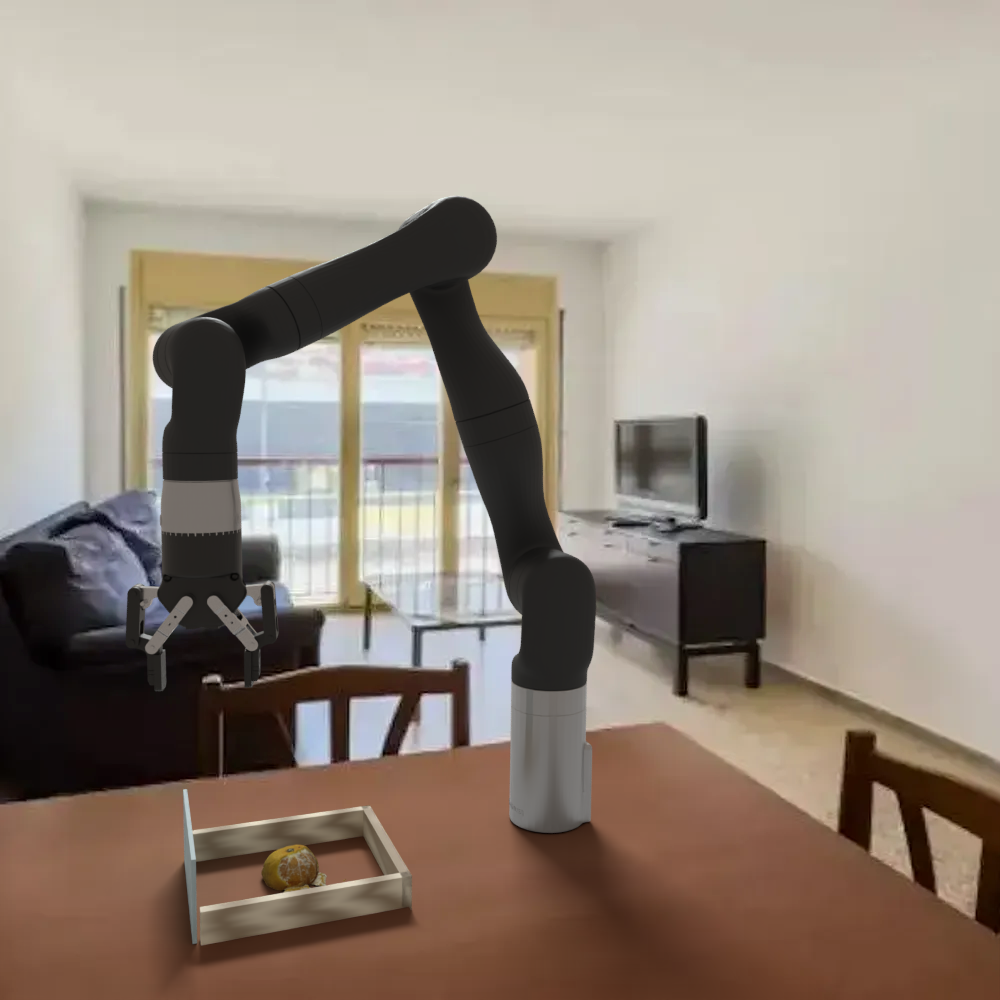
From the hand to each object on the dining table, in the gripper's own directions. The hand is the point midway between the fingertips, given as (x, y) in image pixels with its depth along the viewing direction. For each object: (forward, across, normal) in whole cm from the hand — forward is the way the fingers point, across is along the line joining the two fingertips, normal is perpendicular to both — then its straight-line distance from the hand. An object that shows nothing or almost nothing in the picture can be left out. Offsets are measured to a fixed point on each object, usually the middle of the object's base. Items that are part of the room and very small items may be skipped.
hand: (204, 687), depth 91 cm
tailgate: (+21, +2, +1) cm, 21 cm away
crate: (+22, -9, -2) cm, 23 cm away
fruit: (+22, -9, -1) cm, 24 cm away
